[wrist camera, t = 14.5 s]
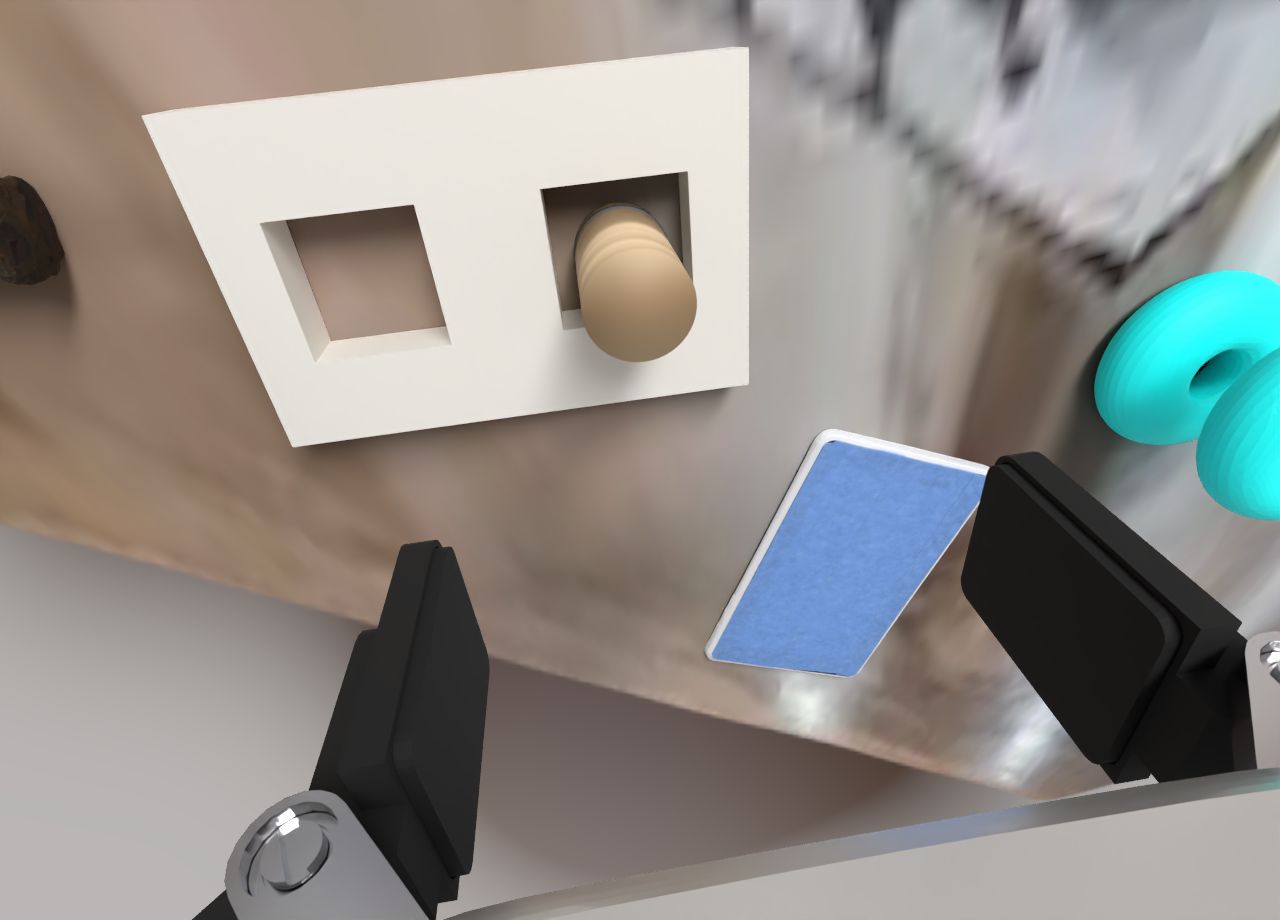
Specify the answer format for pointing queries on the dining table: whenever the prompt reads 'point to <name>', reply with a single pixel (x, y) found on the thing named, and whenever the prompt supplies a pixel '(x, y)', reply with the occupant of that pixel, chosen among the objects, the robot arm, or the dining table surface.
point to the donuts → (1204, 383)
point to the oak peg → (632, 284)
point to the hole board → (469, 233)
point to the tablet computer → (845, 554)
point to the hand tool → (26, 235)
